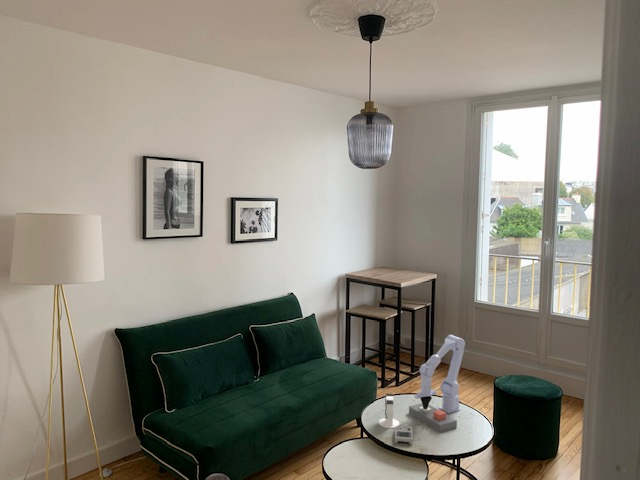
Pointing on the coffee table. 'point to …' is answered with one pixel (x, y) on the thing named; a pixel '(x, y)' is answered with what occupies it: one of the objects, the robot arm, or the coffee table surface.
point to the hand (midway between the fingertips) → (425, 408)
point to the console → (432, 418)
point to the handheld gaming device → (403, 434)
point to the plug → (425, 409)
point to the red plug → (439, 415)
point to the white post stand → (389, 413)
